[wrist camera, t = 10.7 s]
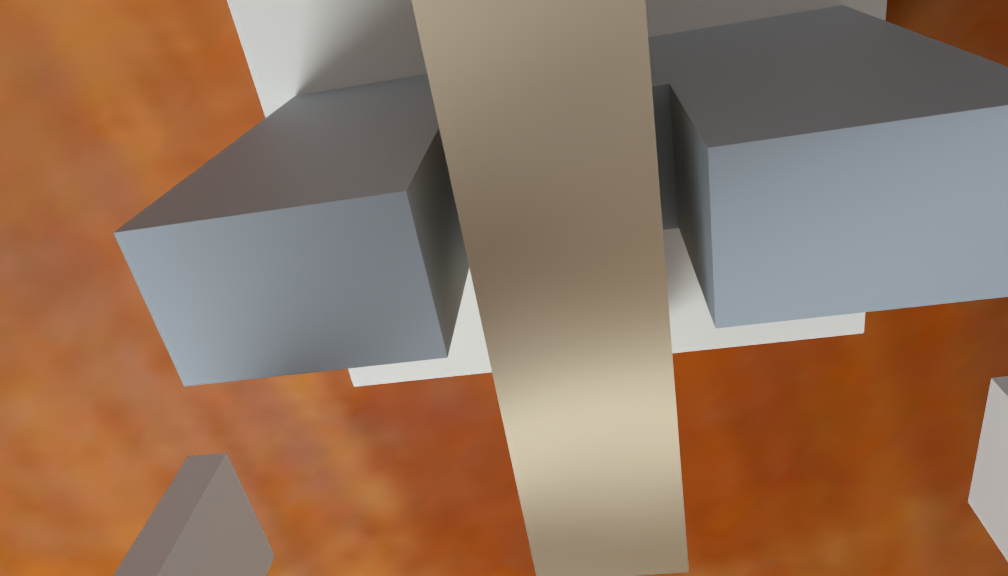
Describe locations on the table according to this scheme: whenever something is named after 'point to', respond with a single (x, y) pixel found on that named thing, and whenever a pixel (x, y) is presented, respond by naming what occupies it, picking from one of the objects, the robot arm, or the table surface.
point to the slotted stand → (682, 179)
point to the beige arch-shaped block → (567, 267)
